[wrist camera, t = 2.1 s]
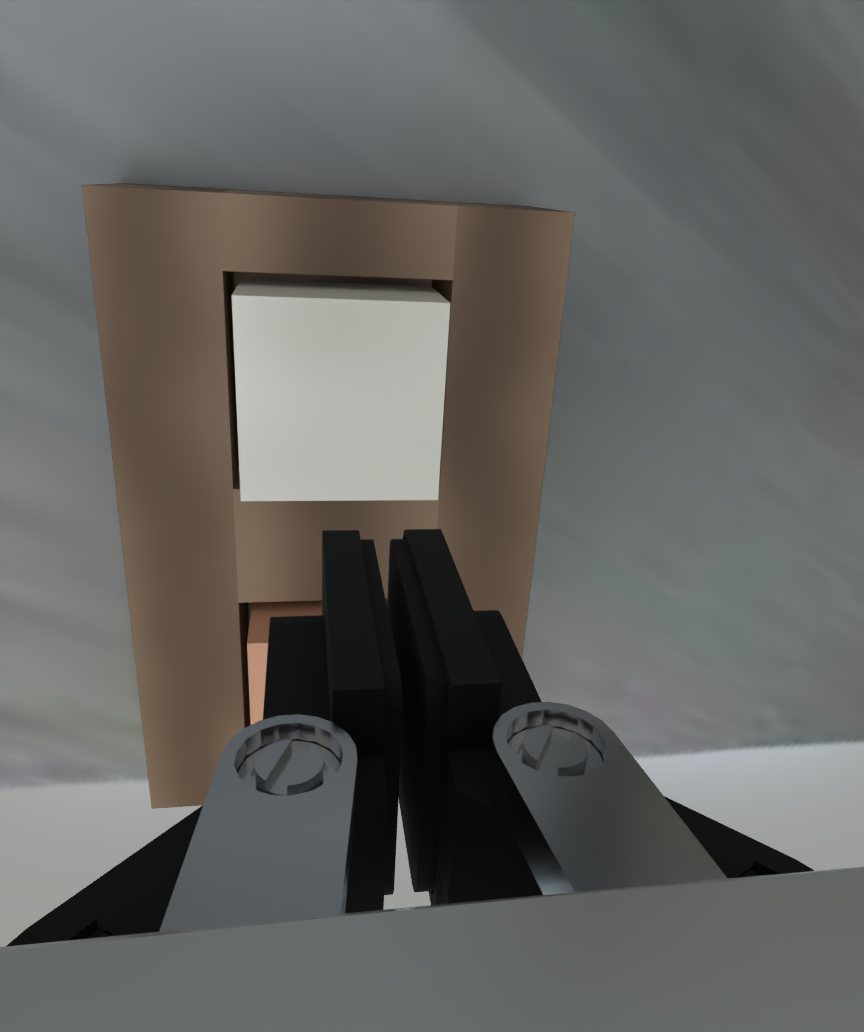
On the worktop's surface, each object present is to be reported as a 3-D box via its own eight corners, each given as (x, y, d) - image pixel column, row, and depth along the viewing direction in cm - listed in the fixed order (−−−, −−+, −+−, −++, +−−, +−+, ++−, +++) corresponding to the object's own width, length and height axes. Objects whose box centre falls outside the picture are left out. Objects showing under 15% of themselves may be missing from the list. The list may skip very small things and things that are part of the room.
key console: (530, 206, 28) (574, 212, 23) (481, 709, 37) (507, 784, 32) (120, 183, 26) (82, 185, 21) (171, 725, 34) (151, 808, 30)
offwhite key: (431, 286, 25) (450, 302, 22) (421, 461, 28) (438, 500, 24) (240, 279, 24) (231, 295, 21) (248, 461, 27) (240, 501, 23)
